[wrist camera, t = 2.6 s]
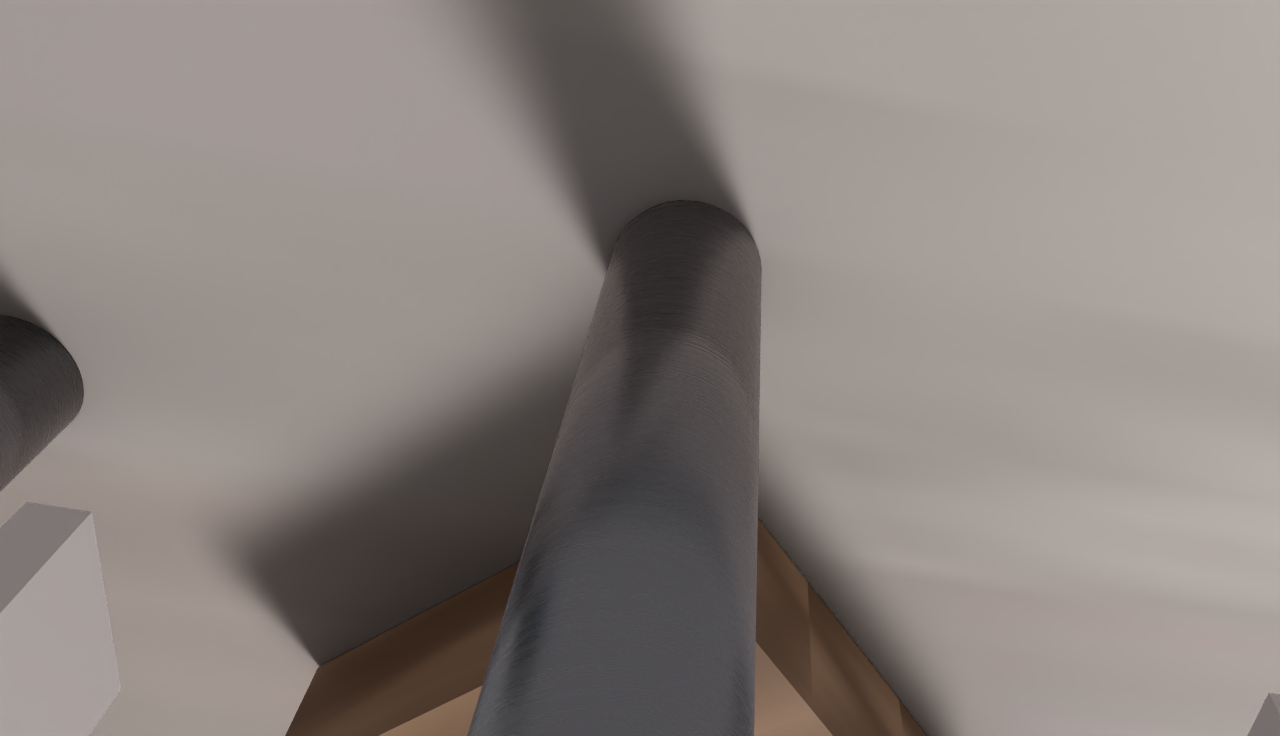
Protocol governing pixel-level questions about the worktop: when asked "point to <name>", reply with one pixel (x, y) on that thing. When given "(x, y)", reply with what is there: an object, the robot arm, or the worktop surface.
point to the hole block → (469, 624)
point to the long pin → (646, 505)
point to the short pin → (33, 393)
